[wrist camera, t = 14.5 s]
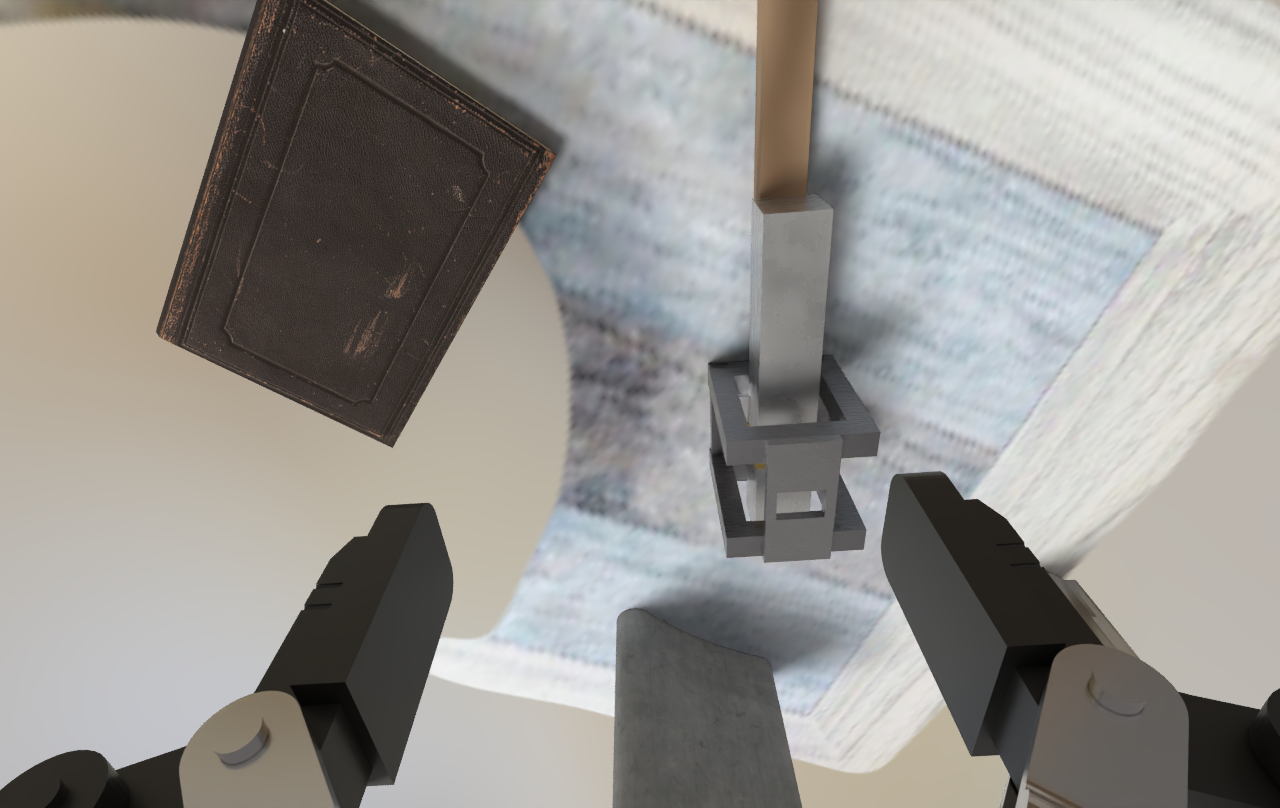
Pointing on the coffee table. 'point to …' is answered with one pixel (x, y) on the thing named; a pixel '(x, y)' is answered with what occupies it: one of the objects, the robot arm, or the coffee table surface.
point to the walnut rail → (784, 95)
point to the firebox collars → (788, 467)
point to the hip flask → (695, 723)
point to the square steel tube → (786, 323)
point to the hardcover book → (344, 218)
